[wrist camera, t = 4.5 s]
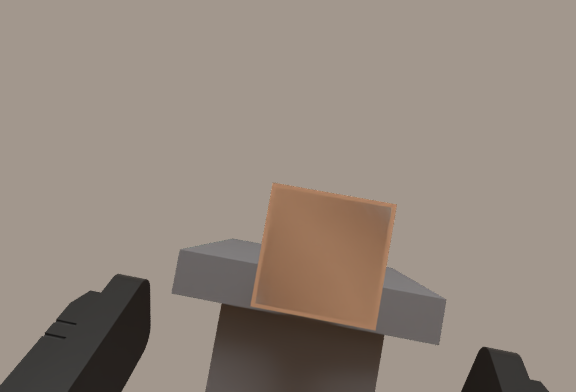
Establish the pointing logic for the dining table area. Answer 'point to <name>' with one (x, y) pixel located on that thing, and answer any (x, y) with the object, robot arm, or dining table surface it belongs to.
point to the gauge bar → (324, 256)
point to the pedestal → (295, 328)
